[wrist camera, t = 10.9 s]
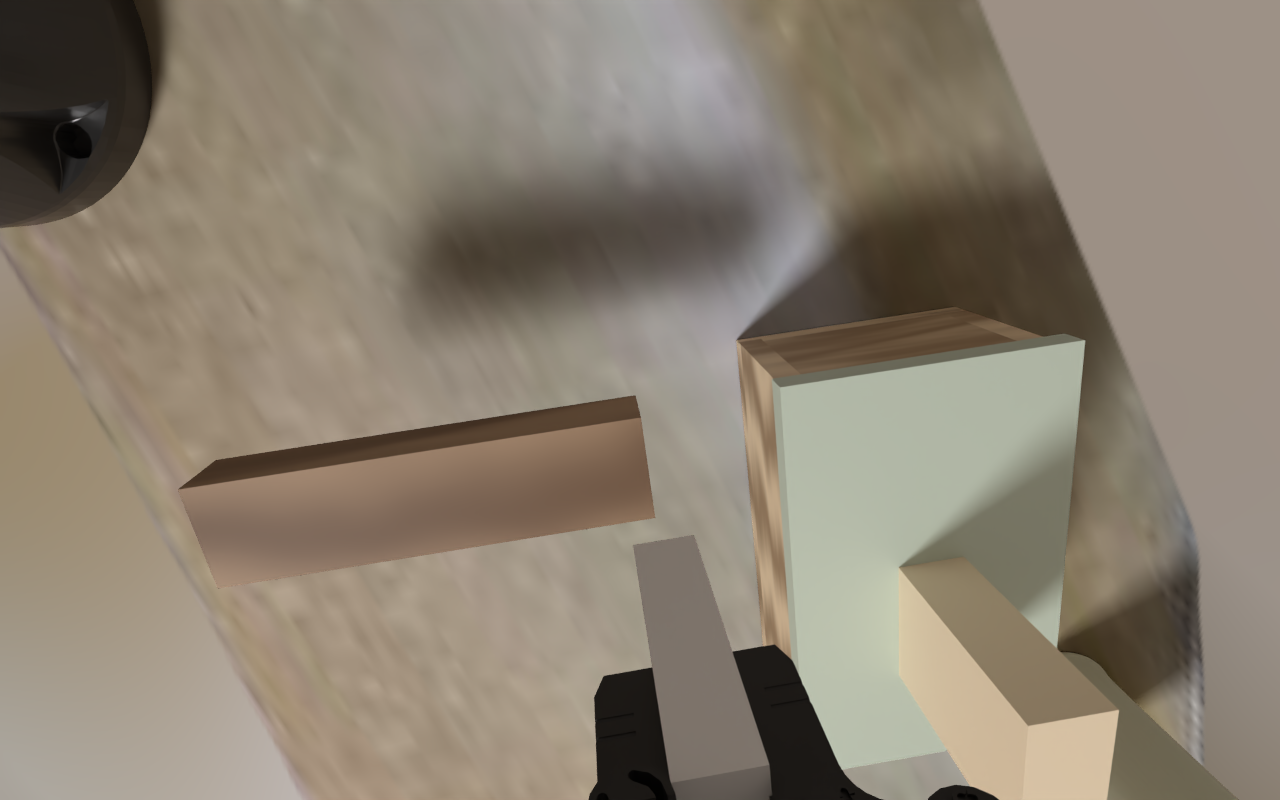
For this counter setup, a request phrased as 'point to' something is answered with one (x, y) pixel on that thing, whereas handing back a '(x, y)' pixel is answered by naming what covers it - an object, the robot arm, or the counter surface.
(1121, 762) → the can
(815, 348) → the light wood open box
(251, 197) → the counter surface
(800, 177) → the counter surface
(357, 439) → the brown rectangular block
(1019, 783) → the lid
